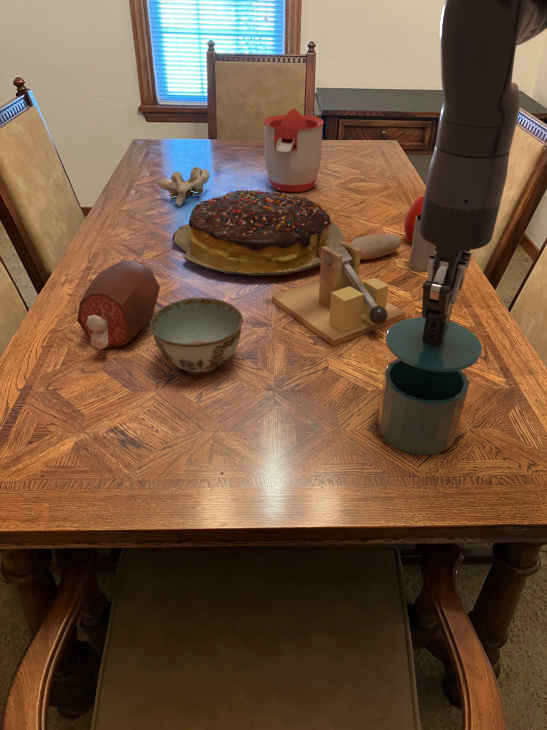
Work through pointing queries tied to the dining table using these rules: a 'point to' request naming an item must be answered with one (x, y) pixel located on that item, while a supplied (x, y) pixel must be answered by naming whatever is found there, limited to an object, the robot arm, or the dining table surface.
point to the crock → (421, 408)
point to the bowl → (197, 333)
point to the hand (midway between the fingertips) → (434, 336)
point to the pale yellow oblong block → (346, 309)
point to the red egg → (413, 217)
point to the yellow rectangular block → (375, 293)
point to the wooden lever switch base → (329, 298)
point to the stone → (376, 245)
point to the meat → (118, 303)
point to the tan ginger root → (185, 184)
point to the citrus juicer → (293, 150)
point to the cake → (257, 233)
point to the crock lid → (433, 346)
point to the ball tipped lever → (362, 289)
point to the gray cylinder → (420, 249)
